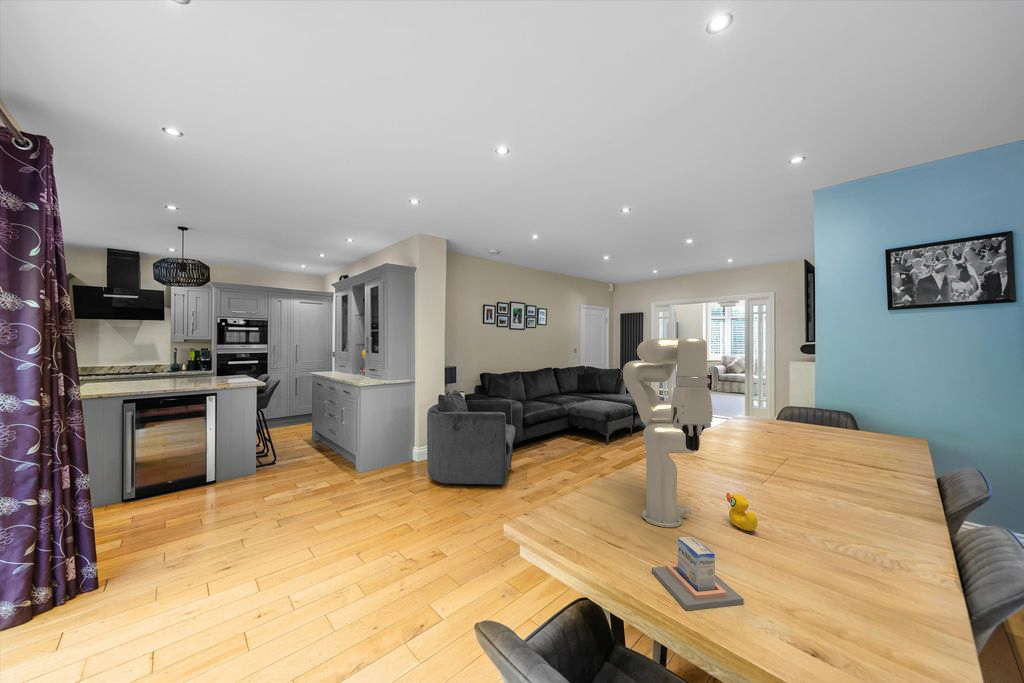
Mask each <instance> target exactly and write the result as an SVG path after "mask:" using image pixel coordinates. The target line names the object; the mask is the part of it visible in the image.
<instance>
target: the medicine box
mask: <svg viewBox="0 0 1024 683" xmlns="http://www.w3.org/2000/svg"><path fill="white" fill-rule="evenodd" d="M677 564H678V569H677V572H678V573H679V574H680V575H681V576H682V577H683V578H684V579H685V580H686V581H687V582H688V583H689V584H690V585H691V586H692V587H693V588H694V589H695V590H696V591H697V592H703V591H712V590H715V575H716V554H715V553H714V552H713V551H711V550H710V549H709V548H707V546H705V545H704V544H703V543H701V542H700V541H699V540H697V539H696V538H695V537H693V536H684V537H683V536H682V537H678V538H677Z"/></svg>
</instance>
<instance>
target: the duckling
mask: <svg viewBox="0 0 1024 683" xmlns="http://www.w3.org/2000/svg"><path fill="white" fill-rule="evenodd" d="M725 495H726V500H727V502H728V503H729V505H730V507H731V508H730V509H729V512H728V515H729V519H730V520H731V523H732V524H733V525H734V526H736V527H737V528H739V529H741V530H742V531H748V532H751V531H752V532H753V531H755V530H756V529H757V527H758V518H757V516H756V513H754V512H752V511H748V512H747V513H746V511H747V510H748V508H749V502H748V500H747V498H746V497H745V496H744V495H742V494H739V493H735V494H731V493H730V492H726V494H725Z"/></svg>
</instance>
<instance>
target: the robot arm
mask: <svg viewBox="0 0 1024 683" xmlns="http://www.w3.org/2000/svg"><path fill="white" fill-rule="evenodd" d="M707 344H708V343H707V341H706V340H705V339H703V338H698V337H697V338H696V337H695V338H694V337H691V338H690V337H688V338H687V337H686V338H679V337H678V338H676V337H674V338H671V337H670V338H648V339H646V340H644V341H641V343H639V344H638V346H637V349H636V354H637V356H638V357H639V359H640V360H630V361H628V362H627V363H625V364H624V366H623V367H622V378H623V382H624V385H625V388H626V390H627V391H628V393H630V395H631V397H632V399H634V402H635V407H636V409H637V411H638V415H639V417H640V420H641V422H642V423H643V425H645V428H644V429H643V433H642V436H643V442H644V448H645V461H646V466H645V467H646V471H645V473H646V478H645V480H646V508H644V509H643V510H642V511H641V518H642V519H643V518H644V519H645V520H646V522H647V523H649V524H651V525H653V526H657V527H662V528H677V527H680V526H681V525H683V514H692V509H691V508H690V506H687V507H683V505H682V504H678V468H677V464H676V463H675V461H674V460H673V459H672V457H670V454H694V453H696V452H698V451H699V449H700V448H701V437H700V436H701V435H702V432H704V430H706V429H710V428H712V424H711V423H712V422H713V402H712V396H711V392H710V388H709V387H708V384H710V383H711V379H710V378H708V346H707ZM675 369H676V387H675V386H674V387H673V391H672V396H671V400H662V399H660V398H659V395H658V393H657V391H656V390H655V389H654V388H653V387H651V386H650V385H649V384H647V383H666V382H667V381H669V380H670V379H671V377H672V375H673V373H674V371H675ZM644 519H643V520H644ZM645 520H644V521H645Z"/></svg>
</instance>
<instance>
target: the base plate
mask: <svg viewBox="0 0 1024 683" xmlns="http://www.w3.org/2000/svg"><path fill="white" fill-rule="evenodd" d="M677 569H678V563H677V564H676V563H674V564H666V565H663V566H655V567H651V574H653V575H654V577H655V578H656V579H657V580H658V581H659V582H660V583H661V585H662V586H664V587H665V589H666V590H667V591H668V592H669V593H670V595H671V596H672V597H673V598H674V599H675V600H676V601H677V603H678V604H679V605H680V606H681V607H682V608H683V609H684V610H685V611H686V612H690V611H696V610H697V611H699V610H705V609H707V610H708V609H715V608H716V609H717V608H724V607H731V606H732V607H733V606H742V605H744V604H745V603H744V602H745V600H744V597H742V596H741V595H740V594H739V593H738V592H736V591H735V590H734V589H733V588H732V587H731V586H729V585H728V584H727V583H726V582H725V581H724V580H722V579H721V578H720V577H719V576H717V574H715V590H712V591H703V592H697V591H696V590H695V589H694V588H693V587H692V586H691V585H690V584H689V583H688V582H687V581H686V580H685V579H684V578H683V577H682V576H681V575H680V574H679V573H678V572H677Z"/></svg>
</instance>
